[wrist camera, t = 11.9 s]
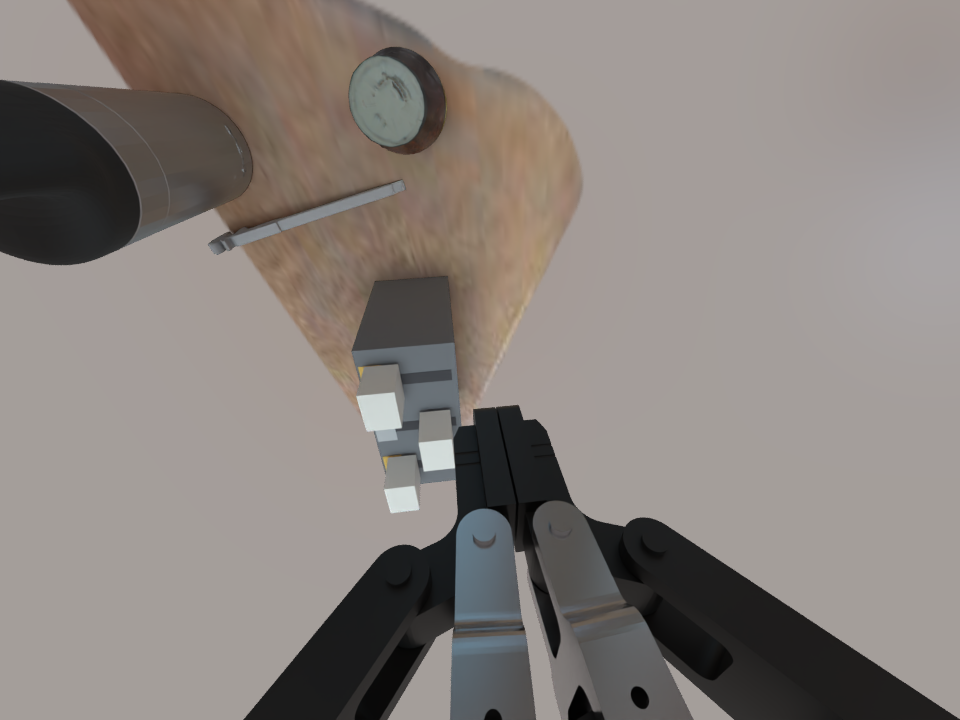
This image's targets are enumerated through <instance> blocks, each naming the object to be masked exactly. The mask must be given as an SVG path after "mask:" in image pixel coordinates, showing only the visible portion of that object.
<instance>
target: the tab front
mask: <svg viewBox="0 0 960 720" xmlns="http://www.w3.org/2000/svg"><path fill="white" fill-rule="evenodd" d="M356 397H357V400H358V404H359V407H360V410H361V414H362V417H363V421H364V424H365V427H366V431H367V432H368V431H378V430H388V429H398V428H402V422H403V411H404V401H405V397H404V392H403V387H402V382H401V377H400V371H399V366H398V364H394V365H382V366H371V367H364V369H363V373H362V376H361V380H360V384H359V388H358V391H357V395H356Z"/></svg>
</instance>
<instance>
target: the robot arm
mask: <svg viewBox="0 0 960 720" xmlns="http://www.w3.org/2000/svg"><path fill="white" fill-rule="evenodd" d="M251 176H252V159H251V155H250V151H249V148H248V146H247V144H246V141H245V139H244V137H243V136H242V134H241V133H240V131H239V130H238V128H237V127H236V126H235V124H234V123H233V122H232V121H231V120H230V119H229V118H228V117H227V116H226V115H225V114H224V113H223V112H222V111H220V110H219V109H218V108H217V107H215V106H213V105H212V104H210V103H208V102H207V101H205V100H202V99H200V98H197V97H195V96H191V95H186V94H179V93H166V92H156V91H143V90H130V89H116V88H103V87H90V86H75V85H62V84H50V83H32V82H19V81H6V80H0V251H1V252H3V253H6V254H9V255H11V256H14V257H17V258H21V259H24V260H27V261H32V262H36V263H43V264H49V265H73V264H80V263H85V262H89V261H92V260H95V259H98V258H100V257H103V256H105V255H107V254H109V253H112V252H114V251H117V250H119V249H120V248H123V247H125V246H127V245H130V244H132V243H134V242H136V241H139V240H141V239H143V238H146V237H148V236H150V235H152V234H154V233H157V232H159V231H161V230H164V229H166V228H168V227H171V226H173V225H175V224H178V223H180V222H182V221H184V220H187V219H189V218H192V217H194V216H196V215H199V214H201V213H203V212H206V211H208V210H210V209H213V208H215V207H218V206H220V205H222V204H225V203H227V202H229V201H231V200H234V199H235V198H237V197H239V196H240V195H242V193H243V192H244V191H245V190H246V189H247V187H248V185H249V183H250V181H251ZM473 420H474V425H471V426H461V427H458V430H457V432H456V434H455V436H454V439H453V444H454V459H455V475H456V490H457V505H458V515H457V520H456V523H455V525H454V527H453V528H452V530H451V531H450V532H449V533H448V534H447V535H446V537H444V538H443V539H441V540H440V541H438V542H436V543H434V544H432V545H430V546H427V547H425V548H423V549H421V550H419V549H418V548H416V547H414V546H411V545H398V546H394V547H392V548H390V549H388V550H386V551H385V552H384V553H382V554H381V555H380V556H379V557H378V558H377V559H376V561H375V562H374V563H373V564H372V565H371V567H370V568H369V569H368V570H367V571H366V573H365V574H364V575H363V576H362V578H361V579H360V580H359V581H358V582H357V583H356V585H355V586H354V587H353V588H352V590H351V591H350V592H349V593H348V594H347V596H346V597H345V598H344V599H343V600H342V602H341V603H340V604H339V605H338V606H337V608H336V609H335V610H334V611H333V613H332V614H331V615H330V616H329V617H328V619H327V620H326V621H325V622H324V624H322V626H321V627H320V628H319V629H318V631H317V632H316V633H315V634H314V635H313V637H312V638H311V639H310V640H309V641H308V643H307V644H306V645H305V646H304V647H303V649H302V650H301V651H300V652H299V653H298V655H297V656H296V657H295V658H294V659H293V661H292V662H291V663H290V664H289V665H288V667H287V668H286V669H285V670H284V672H283V673H282V674H281V675H280V676H279V678H278V679H277V680H276V681H275V683H274V684H273V685H272V686H271V687H270V688H269V690H268V691H267V692H266V693H265V695H264V696H263V697H262V698H261V699H260V701H259V702H258V703H257V704H256V705H255V706H254V708H253V709H252V710H251V711H250V713H249V714H248V715H247V716H246V718H245V719H244V720H387V719H388V718H389V716H390V714H391V712H392V711H393V709H394V708H395V706H396V704H397V703H398V701H399V699H400V698H401V696H402V694H403V692H404V691H405V689H406V687H407V686H408V684H409V682H410V681H411V679H412V677H413V676H414V674H415V672H416V671H417V669H418V667H419V666H420V664H421V662H422V661H423V659H424V657H425V656H426V654H427V652H428V650H429V649H430V647H431V645H432V644H433V642H434V640H435V638H436V637H437V636H439V635H441V634H443V633H444V632H446V631H448V630H450V629H451V628H453V627H454V629H453V638H452V667H451V669H452V670H451V710H450V720H536V714H535V706H534V697H533V688H532V680H531V671H530V663H529V654H528V646H527V639H526V633H525V628H524V625H523V622H522V617H521V609H520V600H519V591H518V582H517V573H516V565H515V555H514V546H515V551H516V552H521V551H525V555H526V560H527V564H528V571H527V578H528V583H529V587H530V591H531V594H532V598H533V601H534V605H535V609H536V613H537V616H538V620H539V623H540V627H541V630H542V634H543V638H544V641H545V645H546V649H547V652H548V656H549V660H550V665H551V672H552V681H553V686H554V691H555V696H556V700H557V704H558V708H559V711H560V715H561V719H562V720H693V718H692V716H691V714H690V711H689V710H688V707H687V705H686V704H685V701H684V699H683V697H682V695H681V693H680V691H679V689H678V687H677V685H676V683H675V681H674V679H673V677H672V675H671V673H670V670H669V668H668V666H667V664H666V662H665V660H664V658H665V659H666V660H667V661H668V662H670V663H671V664H672V665H673V666H674V667H675V668H676V669H677V670H679V671H680V672H681V673H682V674H683V675H684V676H685V677H686V678H688V679H689V680H690V681H691V682H692V683H693V684H694V685H695V686H697V687H698V688H699V689H700V690H701V691H702V692H703V693H705V694H706V695H707V696H708V697H709V698H710V699H711V700H713V701H714V702H715V703H716V704H717V705H718V706H719V707H720V708H722V709H723V710H724V711H725V712H726V713H727V714H728V715H730V716H731V717H732V718H733V719H734V720H960V719H958V718H957V717H955V716H954V715H952V714H951V713H949V712H948V711H946V710H945V709H943V708H942V707H940V706H939V705H937V704H936V703H934V702H933V701H931V700H930V699H928V698H927V697H925V696H924V695H922V694H921V693H919V692H918V691H916V690H915V689H913V688H912V687H910V686H909V685H907V684H906V683H904V682H902V681H901V680H899V679H898V678H896V677H895V676H893V675H892V674H890V673H889V672H887V671H886V670H884V669H883V668H881V667H880V666H878V665H877V664H875V663H874V662H872V661H871V660H869V659H868V658H866V657H865V656H863V655H861V654H860V653H859V652H857V651H855V650H854V649H853V648H851V647H850V646H848V645H847V644H845V643H843V642H842V641H840V640H839V639H837V638H836V637H834V636H833V635H831V634H830V633H828V632H827V631H825V630H824V629H822V628H821V627H819V626H818V625H816V624H815V623H813V622H812V621H810V620H809V619H807V618H806V617H804V616H803V615H801V614H800V613H798V612H797V611H795V610H794V609H792V608H790V607H789V606H787V605H786V604H784V603H783V602H781V601H780V600H778V599H777V598H775V597H774V596H772V595H771V594H769V593H768V592H766V591H765V590H763V589H762V588H760V587H759V586H757V585H756V584H754V583H753V582H751V581H750V580H748V579H747V578H745V577H744V576H742V575H740V574H739V573H738V572H736V571H734V570H733V569H732V568H730V567H728V566H727V565H726V564H724V563H722V562H721V561H719V560H718V559H716V558H715V557H713V556H712V555H710V554H709V553H707V552H706V551H704V550H703V549H701V548H700V547H698V546H697V545H695V544H694V543H692V542H691V541H689V540H688V539H686V538H685V537H683V536H682V535H680V534H679V533H677V532H676V531H674V530H672V529H671V528H669V527H668V526H667V525H665V524H663V523H662V522H659V521H657V520H654V519H651V518H636V519H633V520H632V521H630V522H629V523H628V524H627V525H626V527H623V526H618V525H613V524H609V523H603V522H599V521H596V520H594V519H591V518H589V517H588V516H586V515H585V514H583V513H582V512H581V511H580V510H579V509H578V508H577V507H576V506H575V505H574V503H573V501H572V499H571V497H570V495H569V492H568V489H567V486H566V484H565V481H564V478H563V475H562V473H561V470H560V467H559V464H558V461H557V459H556V457H555V453H554V450H553V447H552V446H551V442H550V439H549V436H548V434H547V431H546V430H545V428H544V427H543V426H542V425H541V424H540V423H539V422H538V421H537V420H536V419H534V420H523V417H522V414H521V411H520V408H519V405H513V406H502V407H496V408H495V407H492V408H481V409H473ZM663 657H664V658H663Z"/></svg>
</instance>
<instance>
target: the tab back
mask: <svg viewBox="0 0 960 720" xmlns="http://www.w3.org/2000/svg"><path fill="white" fill-rule="evenodd" d="M420 480H421V478H420V473H419V468H418V463H417V458H416V455H408V456H399V457H390V458H388V461H387V469H386V477H385V485H384V492H385V495H386V498H387V501H388V505H389V508H390V512H391V513H396V512H404V511H413V510H420Z"/></svg>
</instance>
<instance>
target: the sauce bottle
mask: <svg viewBox="0 0 960 720" xmlns="http://www.w3.org/2000/svg"><path fill="white" fill-rule="evenodd" d="M349 104H350V110H351V113H352V116H353V118H354V120H355V122H356V124H357V125H358V127H359V128H360V130H361V131H362V132H363V133H364V134H365V135H366V136H367V137H368V138H369V139H370V140H371V141H373V142H375V143H377V144H379V145H380V146H381V147H383V148H386V149H387V150H389V151H392V152H395V153H399V154H405V155H406V154H415V153H419V152H421V151H422V150H424V149H426V148H427V147H429V146H430V145H431V144H432V143H434V142H435V140H436V139H437V138H438V136H439V135H440V133H441V131H442V128H443V126H444V123H445V119H446V113H447V102H446V96H445V92H444V89H443V86H442V83H441V81H440V79H439V77H438V75H437V73H436V72H435V70H434V69H433V67H432V66H431V65H430V64H429V63H428V62H427V61H426V60H425V59H424V58H423V57H422V56H420V55H419V54H417V53H416V52H414V51H412V50H409V49H406V48H402V47H389V48H385V49H383V50H380V51H379V52H377V53H376V54H374V55H373V56H372V57H369V58H368V59H366V60H365V61H363V62H362V63H361V64H360V65H359V66H358V67H357V69H356V70H355V71H354V72H353V75H352V78H351V81H350V86H349Z"/></svg>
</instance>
